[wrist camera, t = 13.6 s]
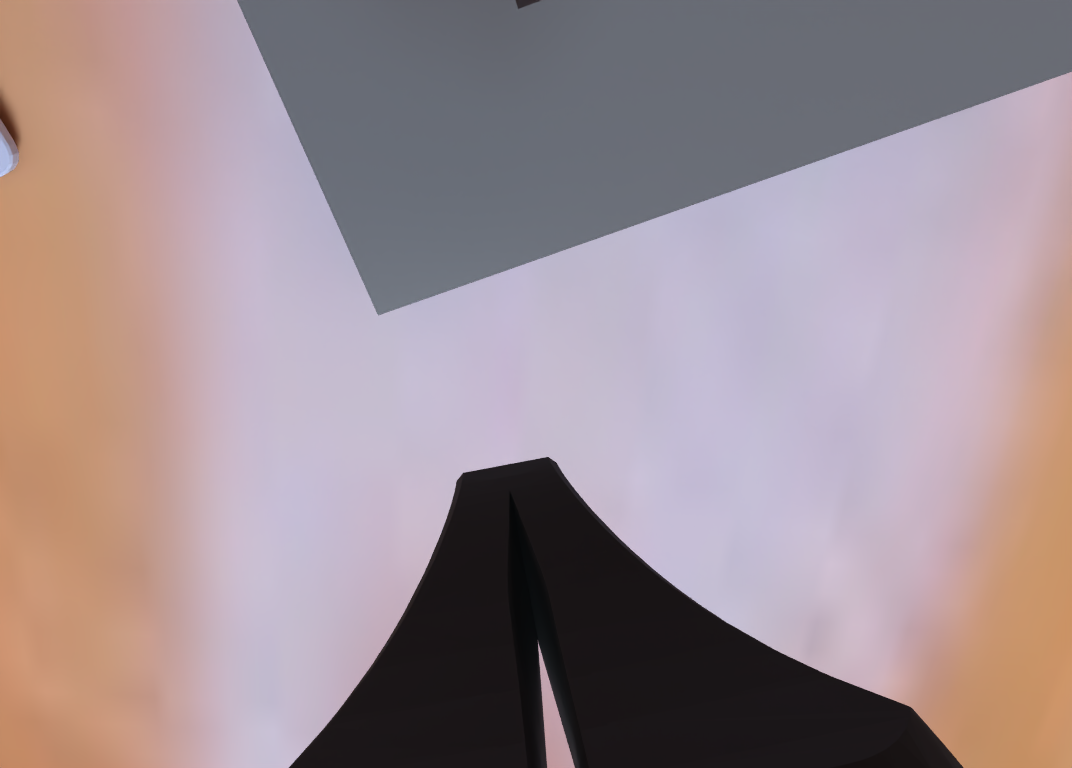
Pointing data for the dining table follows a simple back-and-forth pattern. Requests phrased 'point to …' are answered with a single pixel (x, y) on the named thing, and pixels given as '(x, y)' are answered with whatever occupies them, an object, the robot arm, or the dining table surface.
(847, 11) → the socket block
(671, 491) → the dining table surface
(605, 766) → the robot arm
